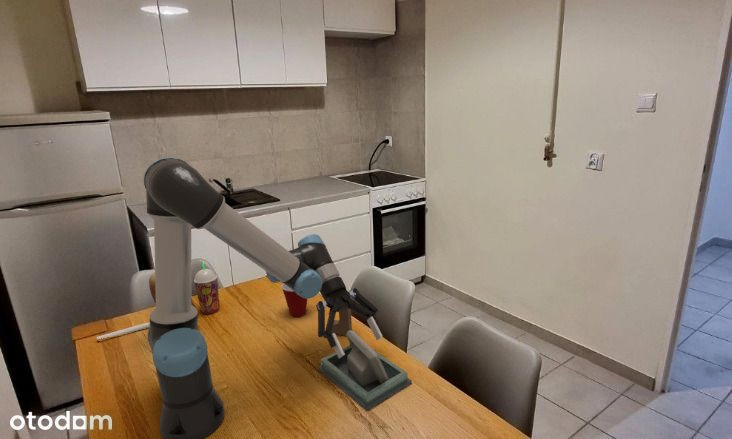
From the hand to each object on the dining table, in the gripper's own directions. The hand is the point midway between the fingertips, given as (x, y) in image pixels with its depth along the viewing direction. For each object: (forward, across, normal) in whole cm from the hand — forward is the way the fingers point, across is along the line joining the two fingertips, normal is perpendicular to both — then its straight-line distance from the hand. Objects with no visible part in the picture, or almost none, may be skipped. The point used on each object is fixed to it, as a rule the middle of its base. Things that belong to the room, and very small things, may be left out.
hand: (361, 347), depth 120 cm
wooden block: (-9, -8, -22) cm, 25 cm away
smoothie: (-42, +20, -55) cm, 72 cm away
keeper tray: (+7, +1, -5) cm, 9 cm away
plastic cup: (-24, -4, -38) cm, 45 cm away
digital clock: (+7, 0, -4) cm, 8 cm away
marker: (-44, +48, -59) cm, 88 cm away
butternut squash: (-34, +34, -48) cm, 68 cm away
